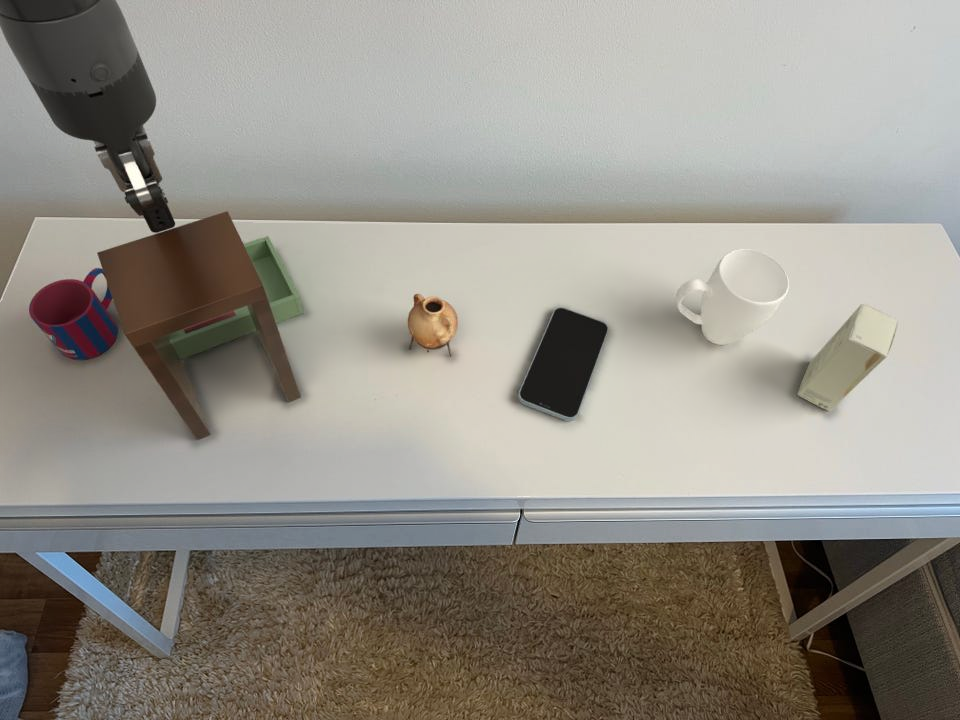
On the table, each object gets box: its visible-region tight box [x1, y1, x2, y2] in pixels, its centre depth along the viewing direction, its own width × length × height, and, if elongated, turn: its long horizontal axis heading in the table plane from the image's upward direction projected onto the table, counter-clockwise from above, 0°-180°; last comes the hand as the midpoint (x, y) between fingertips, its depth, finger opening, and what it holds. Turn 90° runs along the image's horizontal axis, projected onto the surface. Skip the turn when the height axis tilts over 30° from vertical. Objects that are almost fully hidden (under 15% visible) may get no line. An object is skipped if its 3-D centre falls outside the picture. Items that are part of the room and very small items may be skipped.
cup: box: [28, 267, 118, 361], centre depth 78 cm, size 7×10×7 cm
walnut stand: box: [96, 210, 302, 441], centre depth 69 cm, size 12×10×21 cm
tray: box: [166, 235, 304, 360], centre depth 83 cm, size 16×11×4 cm
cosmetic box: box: [797, 302, 900, 412], centre depth 78 cm, size 6×4×12 cm
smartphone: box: [517, 306, 610, 422], centre depth 82 cm, size 7×1×15 cm
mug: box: [674, 248, 790, 346], centre depth 82 cm, size 12×8×11 cm
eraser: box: [183, 311, 236, 334], centre depth 80 cm, size 6×3×2 cm
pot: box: [407, 293, 459, 358], centre depth 80 cm, size 6×8×6 cm
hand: (162, 225), depth 62 cm, fingers closed
